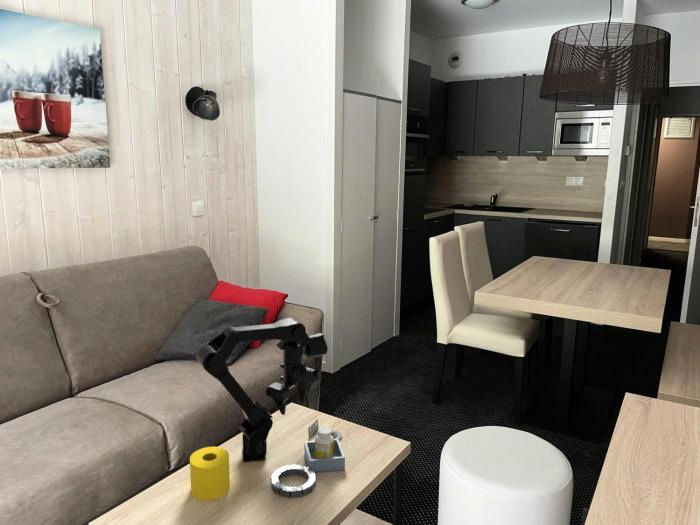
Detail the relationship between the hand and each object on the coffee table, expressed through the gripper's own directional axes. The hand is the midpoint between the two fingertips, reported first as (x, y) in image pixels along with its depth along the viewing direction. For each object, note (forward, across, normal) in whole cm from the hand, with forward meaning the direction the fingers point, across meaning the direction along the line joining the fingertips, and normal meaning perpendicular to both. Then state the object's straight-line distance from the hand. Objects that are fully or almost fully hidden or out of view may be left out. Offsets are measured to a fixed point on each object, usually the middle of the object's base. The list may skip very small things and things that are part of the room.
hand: (292, 408), depth 163 cm
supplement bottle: (+12, -2, -13) cm, 18 cm away
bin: (+12, -2, -13) cm, 18 cm away
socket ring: (+12, -16, -13) cm, 23 cm away
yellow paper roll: (+12, -30, +4) cm, 32 cm away
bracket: (+13, +10, -5) cm, 17 cm away
